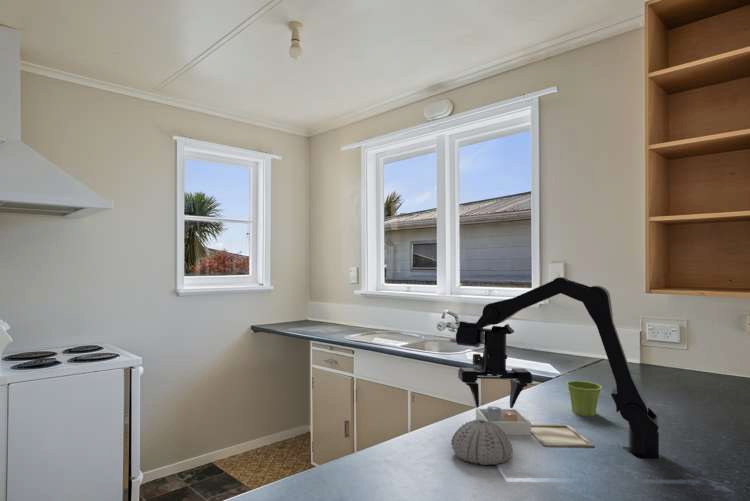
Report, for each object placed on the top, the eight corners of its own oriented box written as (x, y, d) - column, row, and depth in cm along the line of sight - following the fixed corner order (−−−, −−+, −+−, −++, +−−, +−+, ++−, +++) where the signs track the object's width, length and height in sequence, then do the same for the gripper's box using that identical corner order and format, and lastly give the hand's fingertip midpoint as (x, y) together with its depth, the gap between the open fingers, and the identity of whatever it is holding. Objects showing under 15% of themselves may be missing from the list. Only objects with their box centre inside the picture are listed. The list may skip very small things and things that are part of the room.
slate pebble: (502, 425, 124) (502, 410, 124) (489, 425, 124) (489, 410, 124) (498, 421, 127) (498, 406, 127) (485, 420, 127) (485, 406, 127)
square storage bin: (530, 437, 118) (531, 422, 118) (486, 436, 117) (486, 422, 117) (516, 422, 129) (516, 408, 129) (475, 421, 128) (476, 408, 128)
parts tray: (594, 449, 110) (594, 445, 110) (543, 448, 110) (544, 444, 110) (568, 428, 124) (568, 424, 124) (523, 428, 124) (523, 424, 124)
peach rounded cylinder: (519, 431, 119) (519, 416, 120) (505, 431, 119) (505, 415, 119) (514, 426, 123) (515, 411, 123) (501, 426, 123) (501, 411, 123)
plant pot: (605, 421, 131) (605, 390, 131) (569, 418, 133) (570, 387, 133) (596, 411, 140) (597, 382, 141) (563, 408, 142) (563, 380, 142)
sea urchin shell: (440, 449, 109) (441, 414, 109) (490, 443, 113) (490, 409, 114) (472, 474, 96) (472, 434, 96) (526, 465, 101) (526, 428, 101)
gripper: (519, 344, 134) (518, 399, 134) (454, 343, 134) (453, 398, 133) (533, 351, 123) (532, 411, 123) (463, 350, 123) (462, 410, 122)
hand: (494, 407), depth 126 cm, fingers open, 9 cm apart
